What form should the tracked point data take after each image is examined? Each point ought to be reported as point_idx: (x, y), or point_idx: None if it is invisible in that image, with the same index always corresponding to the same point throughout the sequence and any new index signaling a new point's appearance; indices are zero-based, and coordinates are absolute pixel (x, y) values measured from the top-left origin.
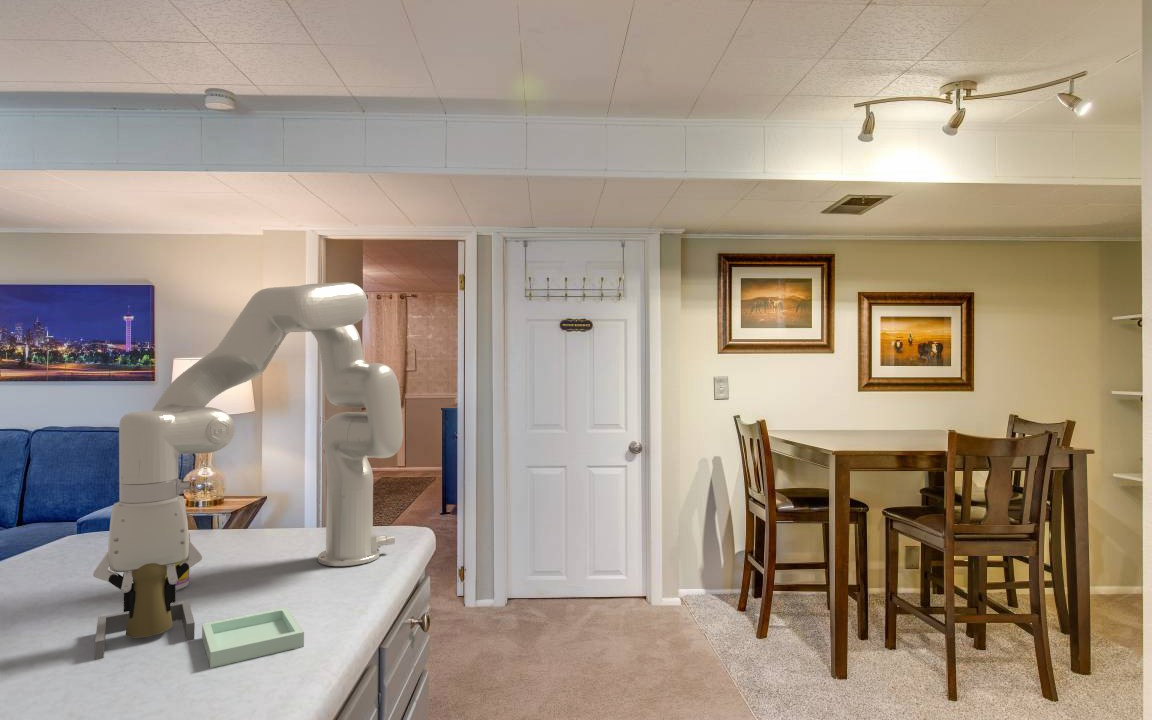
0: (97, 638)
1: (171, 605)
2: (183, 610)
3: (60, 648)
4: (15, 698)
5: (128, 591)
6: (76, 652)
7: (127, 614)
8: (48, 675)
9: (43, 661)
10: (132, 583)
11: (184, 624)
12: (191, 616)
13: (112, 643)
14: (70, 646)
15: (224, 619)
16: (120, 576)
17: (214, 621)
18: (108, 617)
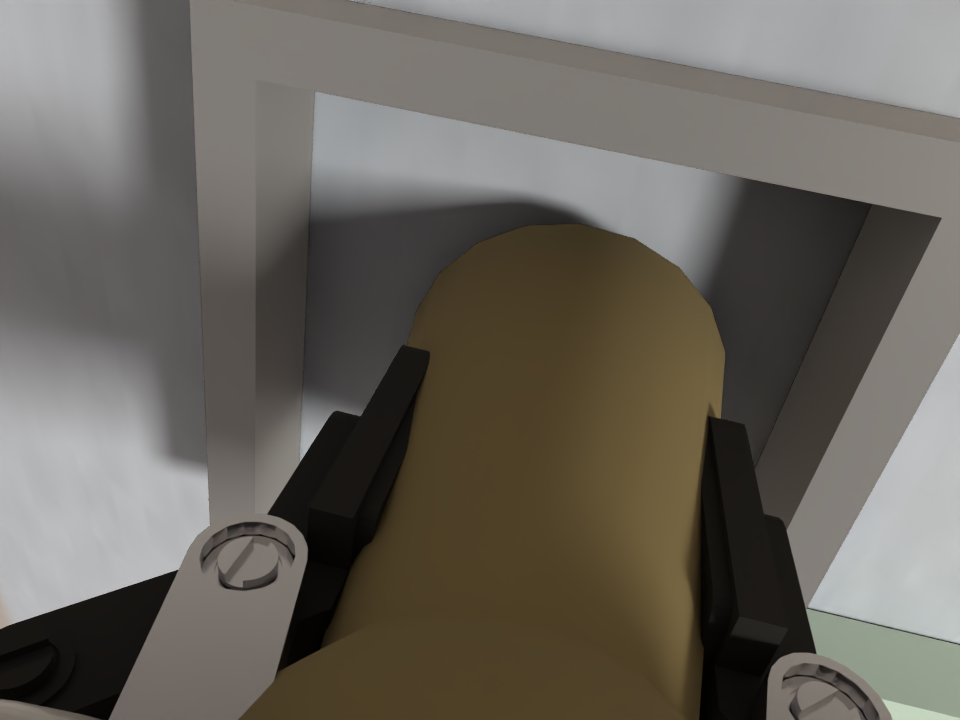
0: (220, 509)
1: (842, 182)
2: (853, 385)
3: (59, 140)
4: (21, 609)
5: None
6: (162, 295)
7: (436, 110)
8: (85, 497)
9: (16, 300)
10: (316, 635)
11: (780, 457)
12: (811, 578)
13: (349, 303)
14: (112, 150)
15: (952, 714)
16: (112, 706)
17: (885, 699)
18: (278, 81)
